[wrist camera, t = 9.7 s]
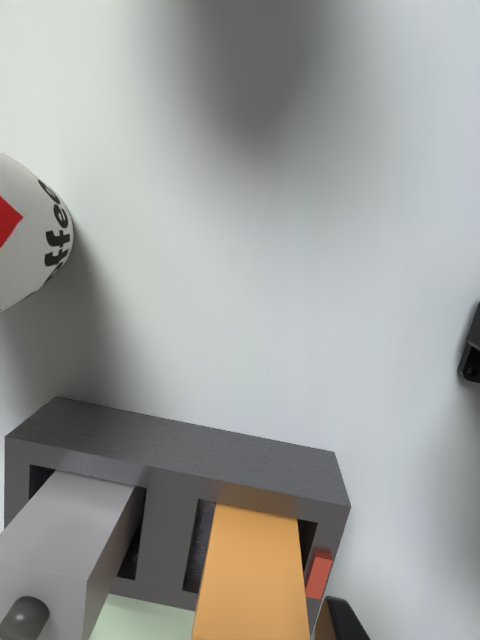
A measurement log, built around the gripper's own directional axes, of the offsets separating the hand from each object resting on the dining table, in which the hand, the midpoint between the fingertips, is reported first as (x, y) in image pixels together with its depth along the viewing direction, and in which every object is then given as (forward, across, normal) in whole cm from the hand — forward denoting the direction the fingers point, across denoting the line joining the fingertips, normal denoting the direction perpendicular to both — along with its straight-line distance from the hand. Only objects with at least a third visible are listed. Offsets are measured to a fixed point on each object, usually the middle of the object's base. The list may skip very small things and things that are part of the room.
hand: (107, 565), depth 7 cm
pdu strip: (+12, 0, +8) cm, 14 cm away
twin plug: (+11, +4, +8) cm, 14 cm away
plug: (+11, -4, +8) cm, 14 cm away
